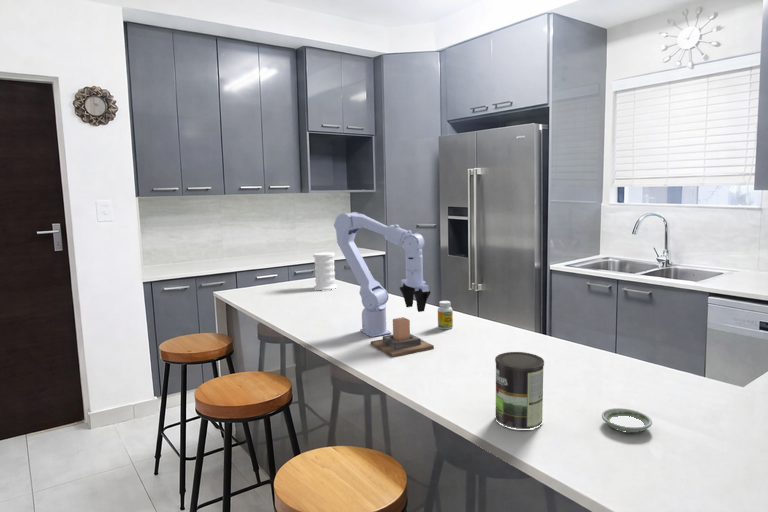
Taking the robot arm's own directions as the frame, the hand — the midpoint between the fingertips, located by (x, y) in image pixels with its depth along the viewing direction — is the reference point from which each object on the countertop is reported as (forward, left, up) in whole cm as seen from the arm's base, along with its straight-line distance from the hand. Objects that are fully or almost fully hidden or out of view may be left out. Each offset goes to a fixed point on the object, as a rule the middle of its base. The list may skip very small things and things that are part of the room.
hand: (415, 309), depth 176 cm
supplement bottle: (-4, +15, -10) cm, 19 cm away
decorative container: (-96, +5, -10) cm, 97 cm away
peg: (+6, -9, -9) cm, 14 cm away
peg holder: (+6, -9, -10) cm, 15 cm away
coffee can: (+65, -13, -10) cm, 67 cm away
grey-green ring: (+79, +4, -10) cm, 80 cm away
